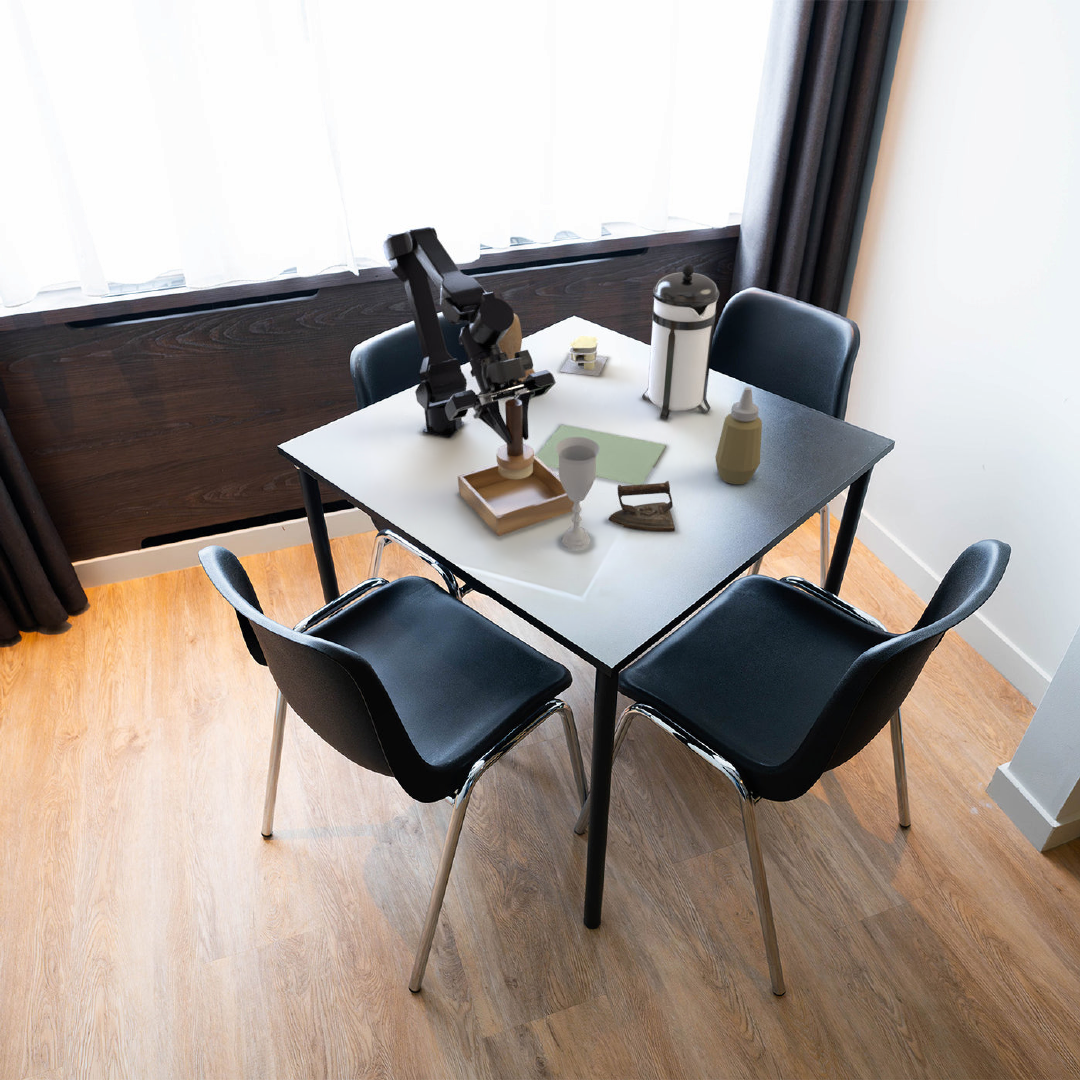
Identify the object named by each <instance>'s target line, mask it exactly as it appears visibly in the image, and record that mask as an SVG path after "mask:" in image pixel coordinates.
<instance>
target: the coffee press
mask: <svg viewBox="0 0 1080 1080" xmlns="http://www.w3.org/2000/svg"><path fill="white" fill-rule="evenodd" d="M652 297H653V300H654V301H653V306H652V312H651V319H652V326H651V337H650V340H651V341H650V355H649V368H648V379H647V380H648V382H647V389H646V391H645V392H644V393H643V394H642V395H641V398H642V400H643V401H649V400H650V401H651V402H652V403H653V405H655V406H657V407H659V408H661V412H660V415H659V419H660V420H664V421H667V420H669V416H670V413H671V412H672V411H687V410H692V409H695V408H698V410H700V412H701V413H702V414H704V415H705V414H708V413H709V412H710V410H711V406H710V403H709V402H708V400H707V394H708V393H707V392H708V385H709V376H710V367H711V357H712V348H713V342H714V341H713V340H714V332H715V322H716V320H717V319H716V318H717V302H718V300H719V298H720V290H719V289H718V287H717V283H715V281H714V280H713V279H712V278H710V277H708V276H706V275H704V274H700V273H695V268H694V266H693V265H692V264H690V263H689V264H685V265H684V266H683V267H682V268H681V272H674V273H670V274H667V275H665V276H663V277H662V278H660V279H659V280H658V282H657V283H656V285H655V286H654V287H653V288H652ZM646 393H647V395H648V396H647V395H646ZM701 404H704V406H705V407H706V409H705V408H704V406H703V405H701Z"/></svg>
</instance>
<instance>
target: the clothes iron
mask: <svg viewBox="0 0 1080 1080" xmlns="http://www.w3.org/2000/svg"><path fill="white" fill-rule="evenodd" d="M656 494H657V495H658V494H666V495H668V498H669V502H665V501H661V502H650V503H644V504H638V505H637V504H636V505H631V504H630V505H629V504H624V503H623V499H622V497H630V496H643V495H656ZM617 496H618V501H619V505H620V507H621V509H619V510H617V511H615V512H613V513H612V514H611V515H610V516H608V517H609V518H608V520H609V521H610V522H612V523H614V524H616V525H620V526H623V528H625V529H630V530H635V531H643V532H659V533H661V532H662V533H672V532H676V528H675V524H674V518H673V515H672V511H671V509H672V508H673V507H674V506H673V505H674V503H673V497H672V494H671V486H670V482H669V480H666V481H665V482H658V483H645V484H644V483H643V484H642V485H634V484H629V485H621V484H618V485H617Z"/></svg>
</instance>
